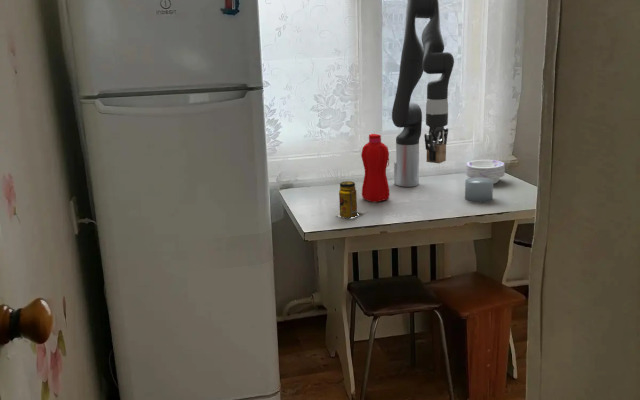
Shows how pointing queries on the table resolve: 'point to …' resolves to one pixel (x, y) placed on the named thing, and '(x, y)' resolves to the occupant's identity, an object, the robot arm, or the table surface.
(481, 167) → the paper bowls
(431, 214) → the table surface
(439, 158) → the walnut block
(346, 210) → the condiment
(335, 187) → the table surface
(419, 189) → the table surface
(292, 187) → the table surface
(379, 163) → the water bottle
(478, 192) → the slate canister
